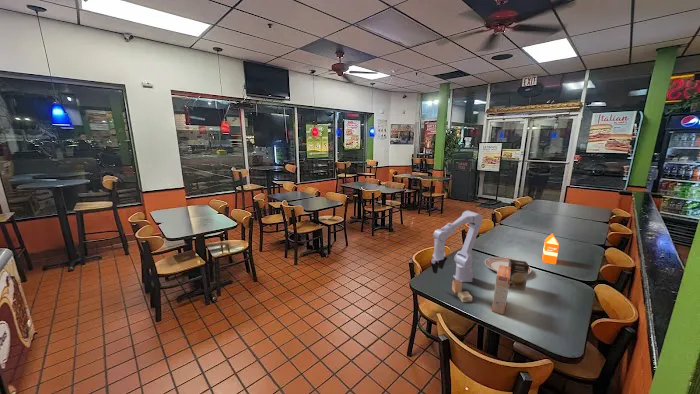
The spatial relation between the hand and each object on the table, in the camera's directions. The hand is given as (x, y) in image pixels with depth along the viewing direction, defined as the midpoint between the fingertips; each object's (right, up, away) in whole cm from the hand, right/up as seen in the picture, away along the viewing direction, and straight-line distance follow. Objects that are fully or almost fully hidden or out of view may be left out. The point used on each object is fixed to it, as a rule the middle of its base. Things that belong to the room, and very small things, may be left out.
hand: (437, 270), depth 160 cm
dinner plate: (+54, -5, +22) cm, 59 cm away
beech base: (+11, -13, -12) cm, 21 cm away
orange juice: (+92, -2, +34) cm, 98 cm away
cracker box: (+27, -14, -19) cm, 35 cm away
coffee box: (+47, -10, 0) cm, 48 cm away
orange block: (+10, -11, -4) cm, 15 cm away
